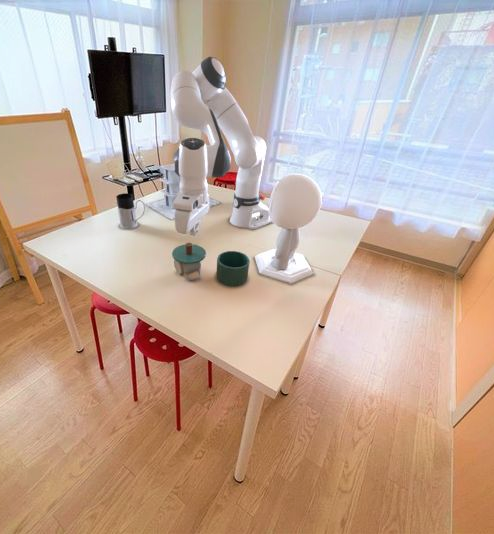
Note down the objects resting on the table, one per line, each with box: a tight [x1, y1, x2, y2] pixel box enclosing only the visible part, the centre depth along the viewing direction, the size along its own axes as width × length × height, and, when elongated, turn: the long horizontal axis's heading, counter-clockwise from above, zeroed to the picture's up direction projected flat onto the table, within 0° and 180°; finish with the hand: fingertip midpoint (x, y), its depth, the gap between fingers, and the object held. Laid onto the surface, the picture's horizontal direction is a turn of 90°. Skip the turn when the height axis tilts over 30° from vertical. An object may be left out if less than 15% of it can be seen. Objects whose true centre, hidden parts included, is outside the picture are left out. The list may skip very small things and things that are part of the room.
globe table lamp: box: [254, 172, 323, 285], centre depth 96 cm, size 20×23×35 cm
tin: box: [215, 250, 251, 288], centre depth 98 cm, size 11×11×8 cm
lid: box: [171, 242, 207, 264], centre depth 97 cm, size 12×12×5 cm
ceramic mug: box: [173, 258, 202, 282], centre depth 100 cm, size 11×8×8 cm
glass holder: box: [115, 192, 146, 230], centre depth 131 cm, size 9×14×15 cm, turn 74°
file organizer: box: [146, 162, 220, 220], centre depth 152 cm, size 26×35×22 cm
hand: (194, 233), depth 95 cm, fingers closed
